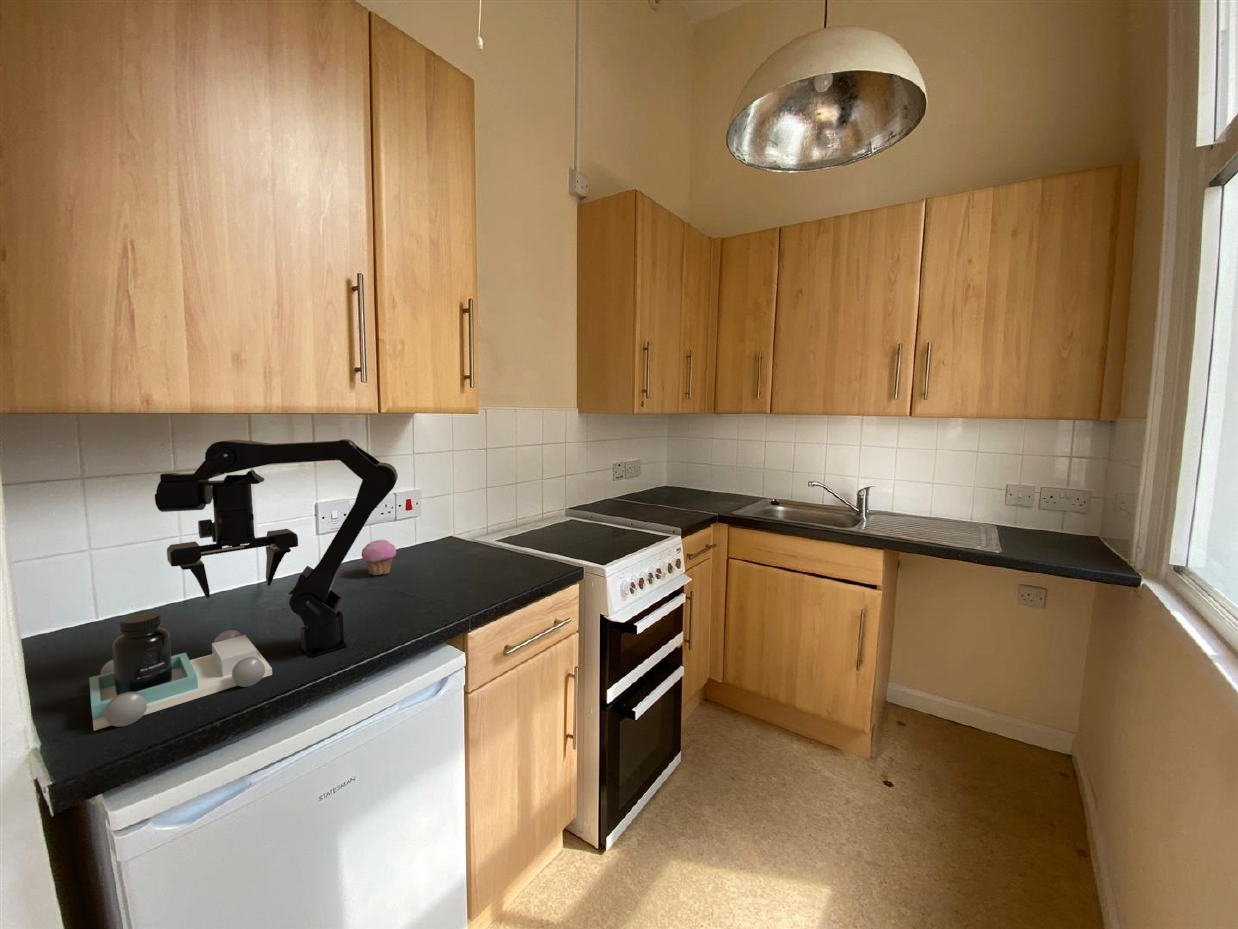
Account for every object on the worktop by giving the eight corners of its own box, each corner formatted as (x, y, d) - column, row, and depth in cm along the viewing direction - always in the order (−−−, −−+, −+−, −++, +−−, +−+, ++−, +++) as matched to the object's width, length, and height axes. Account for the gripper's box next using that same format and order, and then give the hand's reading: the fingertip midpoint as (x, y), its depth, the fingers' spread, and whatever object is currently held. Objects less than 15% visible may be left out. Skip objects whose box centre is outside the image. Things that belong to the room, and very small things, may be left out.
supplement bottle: (153, 698, 80) (147, 625, 79) (103, 702, 79) (96, 627, 78) (183, 676, 87) (178, 608, 85) (137, 679, 86) (131, 610, 84)
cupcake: (389, 568, 151) (388, 535, 150) (401, 574, 145) (400, 540, 144) (357, 574, 145) (356, 540, 144) (369, 581, 139) (367, 546, 138)
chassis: (250, 646, 100) (249, 625, 100) (274, 678, 89) (273, 654, 88) (90, 690, 84) (88, 665, 84) (94, 736, 73) (91, 707, 72)
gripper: (280, 497, 105) (284, 570, 107) (159, 509, 91) (166, 593, 93) (296, 504, 98) (301, 583, 99) (168, 518, 84) (175, 609, 85)
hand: (239, 591), depth 94 cm, fingers open, 9 cm apart
